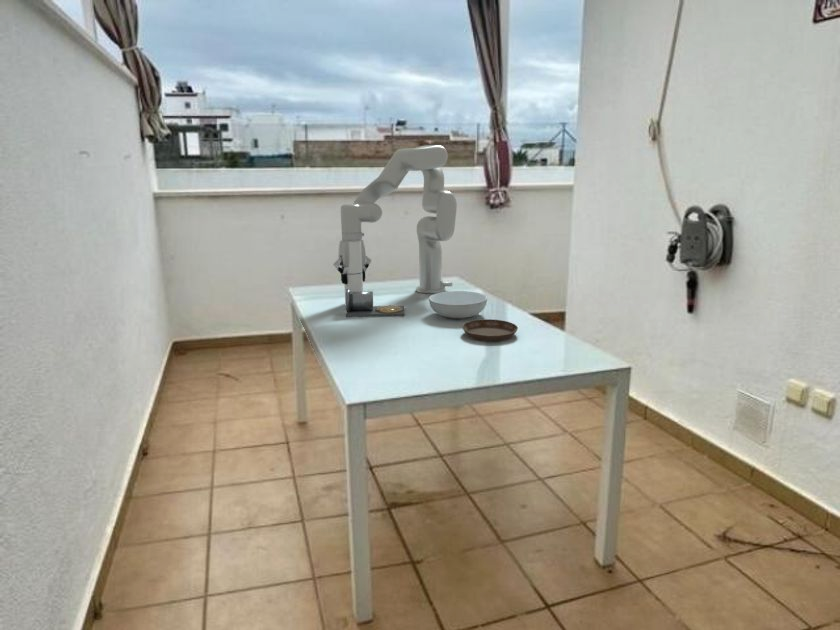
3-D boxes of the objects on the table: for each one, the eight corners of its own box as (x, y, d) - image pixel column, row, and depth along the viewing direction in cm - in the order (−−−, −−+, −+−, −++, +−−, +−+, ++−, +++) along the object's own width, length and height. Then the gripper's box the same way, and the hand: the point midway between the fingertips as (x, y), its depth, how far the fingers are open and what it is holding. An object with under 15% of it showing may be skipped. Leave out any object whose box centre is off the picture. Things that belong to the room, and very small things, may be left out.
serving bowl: (423, 310, 222) (423, 292, 220) (477, 307, 226) (477, 289, 224) (436, 325, 202) (436, 305, 200) (494, 321, 206) (495, 302, 204)
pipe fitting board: (404, 308, 225) (403, 285, 223) (404, 316, 213) (403, 291, 211) (348, 309, 225) (347, 285, 222) (345, 317, 213) (344, 292, 211)
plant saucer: (516, 345, 180) (517, 335, 179) (459, 342, 183) (459, 333, 182) (518, 329, 197) (518, 320, 196) (465, 327, 200) (465, 318, 199)
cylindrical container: (356, 307, 228) (353, 242, 221) (341, 304, 231) (338, 241, 225) (367, 303, 233) (365, 240, 227) (352, 301, 237) (350, 238, 231)
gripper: (366, 234, 233) (367, 278, 238) (326, 237, 223) (329, 283, 228) (376, 235, 228) (377, 281, 232) (336, 239, 218) (338, 286, 222)
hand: (353, 282), depth 230 cm, fingers closed on cylindrical container, 7 cm apart
